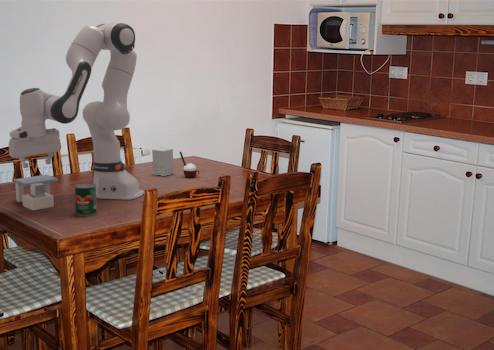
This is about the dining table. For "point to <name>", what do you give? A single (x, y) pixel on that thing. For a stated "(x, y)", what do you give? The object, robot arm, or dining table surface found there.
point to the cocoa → (189, 168)
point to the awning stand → (38, 201)
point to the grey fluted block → (162, 161)
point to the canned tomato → (85, 199)
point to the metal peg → (37, 190)
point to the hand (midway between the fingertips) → (37, 165)
